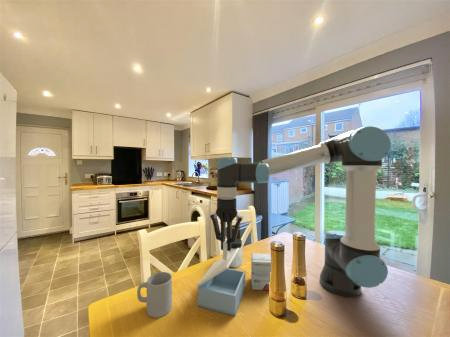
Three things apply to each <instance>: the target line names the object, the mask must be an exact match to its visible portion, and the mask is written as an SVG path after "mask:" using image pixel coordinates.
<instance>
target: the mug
mask: <svg viewBox="0 0 450 337" xmlns="http://www.w3.org/2000/svg"><path fill="white" fill-rule="evenodd" d="M142 288H145V289H146V296H144V297H143V295H142V294H141V289H142ZM136 296H137V300H138V301H139V302H141V303H146V314H147V316H148V317H150V318H154V319H158V318H159V319H160V318H162V317H164V316H166V315H168V314H169V313H170V312H171V310H172V308H173V277H172V274H171V273H169V272H167V271H160V272H155V273H153V274H151V275H150V276H149V277H148V278H147V280H146V281H145V282H141V283H139V285H138V287H137V291H136Z"/></svg>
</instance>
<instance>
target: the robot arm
mask: <svg viewBox="0 0 450 337" xmlns="http://www.w3.org/2000/svg"><path fill="white" fill-rule="evenodd" d="M391 148H392V143H391V139H390V137H389V135H388V134H387V132H386V131H384V130H382V129H381V128H379V127H377V126H370V125H369V126H364V127H363V126H362V127H358V128H355V129H353V130H349V131H347V132H344V133H341V134H338V135H337V136H335V137H332V138H329V139H327V140H324V141H321V142H319V144H318V145H314V146H312V147H308V148H303V149H300V150H296V151H293V152H288V153H286V154H281V155H278V156H274V157H273V156H272V157H270V158H265V159H263V160H258V161H255V162H238V158H237V157H220V158H218V160H217V169H216V173H217V175H216V177H217V179H216V184H217V185H216V197H217V198H216V210H215V212H214V213H211V215H210V219H211V221H212V225H213V230H214V234H215V239H216V240H217V241H220V250H221V251H222V258H223V260H227V259H228V258H229V251H230V250H231V242H234V241H235V240H236V238H237V237H238V233H239V229H240V226H241V222H242V221H243V220H244V216H242V215H240V214H238V210H237V191H238V190H237V188H238V187H237V185H238V183H240V184H241V183H248V184H250V183H251V184H266V183H268V182H269V181H270V180H269V179H270V177H271V176H274V175H279V174H284V173H287V172H291V171H295V170H298V169H303V168H307V167H310V166H314V165H318V164H326V165H329V164H333V163H339V162H340V163H341V167H342V168H343V169H344V170H345V172H346V174H345V175H346V177H345V178H346V179H345V183H346V185H345V187H346V188H345V226H344V227H345V230H327V231H326V232H325V234H324V265H323V267H322V269H321V272H320V274H319V282H320V284H321V285H322V287H324V288H325V289H326V290H327V291H329V292H331V293H333V294H336V295H338V296H342V297H348V298H354V297H358V296H360V295H361V293H362V288H368V289H369V288H376V287H378V286H379V285H380V284H383V283H384V282H385V281H386V279H387V278H388V275H389V271H388V266H387V264H386V262H385V261H384V260H383V258H381V247H380V244H378V243H377V242H376V240H375V234H376V233H375V232H376V231H375V230H376V190H377V188H376V187H377V186H376V185H377V184H376V182H377V181H376V180H377V171H379V170H380V169H381V168H382V167H383V159H384V158H385V157H386V156H387V155H388V154H389V153H390V151H391ZM234 220H236V222H235V225H234V229H233V221H234ZM219 221H220V224H219Z"/></svg>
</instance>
